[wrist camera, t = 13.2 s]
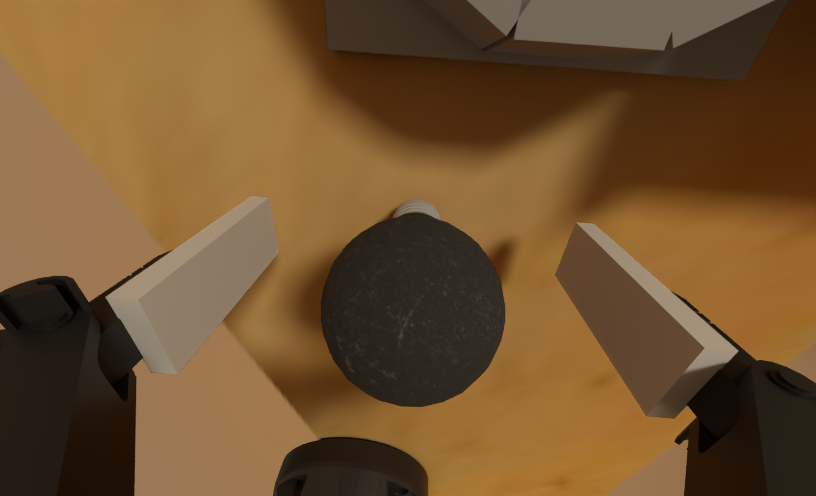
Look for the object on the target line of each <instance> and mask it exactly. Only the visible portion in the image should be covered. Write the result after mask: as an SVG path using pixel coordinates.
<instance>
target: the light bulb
mask: <svg viewBox="0 0 816 496" xmlns="http://www.w3.org/2000/svg"><path fill="white" fill-rule="evenodd" d="M321 322H322V328H323V334H324V337H325V340H326V342H327V345H328V348H329V351H330V353H331V355H332V357H333V360H334V361H335V363H336V364H337V365H338V367H339V368H340V369H341V371H342V372H343V373H344V375H345V376H346V377H347V379H348V380H349V381H350V382H352V383H353V384H354V385H356V386H357V387H358V388H360V389H361V390H362V391H364V392H365V393H367V394H368V395H370V396H372V397H374V398H376V399H378V400H380V401H383V402H387V403H391V404H395V405H398V406H409V407H423V406H428V405H432V404H436V403H441V402H444V401H446V400H448V399H450V398H452V397H454V396H456V395H459V394H461V393H463V392H464V391H465V390H466V389H467V388H468V387H469V386H470V385H471V384H472V383H473V382H475V381H476V380H477V379H478V378H479V377H480V376H481V375H482V374H483V373H484V372H485V370H486V369H487V368H488V367H489V365H490V363H491V361H492V359H493V357H494V355H495V353H496V351H497V349H498V347H499V344H500V342H501V339H502V335H503V330H504V324H505V303H504V297H503V291H502V286H501V280H500V278H499V276H498V274H497V272H496V270H495V267H494V266H493V264H492V262H491V260H490V259H489V258H488V256H487V255H486V253H485V252H484V251H483V250H482V248H481V247H480V246H479V244H478V243H477V242H476V241H474V240H473V239H472V238H471V237H470V236H468V235H467V234H466V233H464V232H463V231H461V230H459V229H458V228H456V227H454V226H453V225H451V224H449V223H447V222H444V221H442V220H441V217H440V215H439V213H438V212H437V210H436V208H435V207H434V206H433V205H432V204H430V203H429V202H426V201H424V200H416V199H413V200H409V201H406V202H404V203H403V204H401V205H400V206H399V207H398V208H397V210H396V212H395V213H394V215H393V217H392V218H390V219H387V220H385V221H382V222H379V223H377V224H375V225H374V226H372V227H370V228H368V229H366V230H365V231H363V232H361V233H360V234H359V235H358V236H357V237H355V238H354V239H352V241H351V242H350V243H349V244H347V245H346V247H345V248H344V249H343V251H342V252H341V253H340V255H339V256H338V257H337V259H336V260H335V261H334V263H333V265H332V268H331V270H330V273H329V275H328V277H327V280H326V283H325V285H324V289H323V294H322V300H321Z"/></svg>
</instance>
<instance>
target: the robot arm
mask: <svg viewBox="0 0 816 496" xmlns="http://www.w3.org/2000/svg"><path fill="white" fill-rule="evenodd" d="M278 253H279V248H278V243H277V238H276V232H275V227H274V222H273V216H272V211H271V206H270V200H269V197H256V196H251V197H249V198H248V199H246V200H245V201H243V202H242V203H241V204H239V205H238V206H236V207H235V208H233V209H232V210H230V211H229V212H228V213H226V214H225V215H223V216H222V217H220V218H219V219H217V220H216V221H215V222H213V223H212V224H210V225H209V226H207V227H206V228H204V229H203V230H202V231H200V232H199V233H197V234H196V235H194V236H193V237H191V238H190V239H189V240H187V241H186V242H184V243H183V244H181V245H180V246H178V247H177V248H176V249H173V250H171V251H169V252H166V253H164V254H162V255H159V256H157V257H156V258H154V259H153V260H151V261H150V262H148V263H147V264H145V265H144V266H143V268H139V269H138V270H136V271H135V272H133V273H132V275H131V276H127V277H126V278H125V279H123V280H122V281H120V282H118V283H117V284H116V285H114V286H113V287H111V288H110V289H108V290H107V291H105V292H104V293H102V294H101V295H99V296H98V297H96V298H95V299H93V300H92V301H90V302H88V301H87V299H86V297H85V296H84V294H83V293H82V291H81V290H80V288H79V287H78V285H77V284H76V282H75V281H74V279H72V278H70V277H67V276H51V277H44V278H38V279H35V280H31V281H27V282H24V283H21V284H18V285H16V286H13V287H11V288H8V289H6V290H4V291H2V292H1V293H0V323H1V324H2V325H3V326H4V328H5V329H3V330H0V496H134V482H135V479H134V478H135V427H136V426H135V425H136V421H135V420H136V376H135V373H134V371H133V370H132V368H133V367H134V366H135V365H136V364H137V363H138V362H139V361H140V360H141V359H143V360H144V362H145V363H146V365H147V367H148V368H149V370H150V372H151V373H164V374H175V375H178V374H179V373H180V371H181V370H182V369H183V368H184V366H185V365H186V364H187V363H188V362H189V361H190V359H191V358H192V357H193V356H194V355H195V353H196V352H197V351H198V350H199V348H200V347H201V346H202V345H203V344H204V342H205V341H206V340H207V339H208V337H209V336H210V335H211V334H212V333H213V332H214V330H215V329H216V328H217V327H218V326H219V324H220V323H221V322H222V321H223V320H224V318H225V317H226V316H227V315H228V313H229V312H230V311H231V310H232V309H233V307H234V306H235V305H236V304H237V303H238V301H239V300H240V299H241V298H242V297H243V295H244V294H245V293H246V292H247V291H248V289H249V288H250V287H251V286H252V284H253V283H254V282H255V281H256V280H257V278H258V277H259V276H260V275H261V274H262V272H263V271H264V270H265V269H266V268H267V266H268V265H269V264H270V263H271V262H272V260H273V259H274V258H275V257H276V256H277V254H278ZM555 276H556V277H557V279H558V280H559V282H560V283H561V285H562V287H563V288H564V290H565V291H566V293H567V294H568V296H569V297H570V299H571V300H572V302H573V304H574V305H575V307H576V308H577V310H578V311H579V313H580V314H581V316H582V317H583V319H584V320H585V322H586V324H587V325H588V327H589V328H590V330H591V331H592V333H593V334H594V336H595V337H596V339H597V341H598V342H599V344H600V345H601V347H602V348H603V350H604V351H605V353H606V354H607V356H608V358H609V359H610V361H611V362H612V364H613V365H614V367H615V368H616V370H617V371H618V373H619V374H620V376H621V378H622V379H623V381H624V382H625V384H626V385H627V387H628V388H629V390H630V391H631V393H632V395H633V396H634V398H635V399H636V401H637V402H638V404H639V405H640V407H641V408H642V410H643V411H644V413H645V415H646V416H651V417H662V418H673V419H675V417H676V416H677V415H678V414H679V413H680V412H681V411H682V410H683V409H684V408H685V407H686V406H687V405H688V406H689V408H690V409H691V410H692V412H693V413H694V414H695V415H696V418H695V419H694V420H693V421H692V422H691V423H690V424H689V425H688V426H687V427H686V428H685V429H684V430H683V431H682V432H681V433H680V434H679V435H678V436H677V438H676V439H675V441H674V442H675V443H677V444H679V445H680V444H681V443H682V442H683V441H684V440H688V448H687V450H688V452H687V465H686V478H685V490H684V496H816V383H814V382H813V381H811V380H810V379H808V378H807V377H805V376H803V375H802V374H800V373H798V372H796V371H794V370H792V369H790V368H788V367H785V366H782V365H779V364H777V363H774V362H769V361H763V360H759V361H756V360H755V359H754V358H753V357H752V356H750V355H749V354H748V353H747V352H746V351H745V350H743V349H742V348H741V347H740V346H739V345H738V344H736V343H735V342H734V341H733V340H732V339H731V338H730V337H728V336H727V335H726V334H725V333H724V332H723V331H721V330H720V329H719V328H718V327H717V326H716V325H714V324H711V323H710V322H711V321H710V320H709V319H707V318H706V317H705V316H704V315H703V314H700V313H699V311H698V310H697V309H696V308H695V307H694V306H692V305H691V304H690V303H689V302H688V301H687V300H685V299H684V298H682V297H680V296H679V295H677V294H675V293H674V292H672V291H670V290H669V289H668V288H667V287H665V286H664V285H663V284H662V283H661V282H660V281H659V280H657V279H656V278H655V277H654V276H653V275H652V274H651V273H649V272H648V271H647V270H646V269H645V268H644V267H643V266H642V265H640V264H639V263H638V262H637V261H636V260H635V259H634V258H632V257H631V256H630V255H629V254H628V253H627V252H626V251H624V250H623V249H622V248H621V247H620V246H619V245H618V244H617V243H615V242H614V241H613V240H612V239H611V238H610V237H609V236H607V235H606V234H605V233H604V232H603V231H602V230H601V229H599V228H598V227H597V226H596V225H595V224H591V223H578V222H576V223H575V226H574V228H573V231H572V233H571V236H570V239H569V241H568V244H567V246H566V249H565V251H564V254H563V256H562V259H561V261H560V264H559V266H558V269H557V271H556V274H555ZM273 496H428V476H427V473H426V471H425V470H424V468H423V467H422V466H421V465H420V464H419V463H418V462H417V461H416V460H415V459H413V458H412V457H410V456H409V455H407V454H405V453H404V452H401V451H399V450H397V449H395V448H392V447H389V446H386V445H383V444H379V443H375V442H371V441H365V440H358V439H324V440H318V441H313V442H310V443H306V444H303V445H301V446H299V447H297V448H295V449H293V450H292V451H291V452H289V453H288V454H287V456H286V457H285V459H284V461H283V464H282V466H281V469H280V472H279V475H278V477H277V480H276V483H275V487H274V494H273Z"/></svg>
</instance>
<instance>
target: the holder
mask: <svg viewBox="0 0 816 496" xmlns="http://www.w3.org/2000/svg"><path fill="white" fill-rule="evenodd" d="M788 1H789V0H325V14H326V30H327V46H328V50H332V51H340V52H354V53H367V54H380V55H394V56H407V57H420V58H434V59H447V60H460V61H474V62H487V63H500V64H514V65H527V66H540V67H554V68H567V69H580V70H594V71H607V72H620V73H634V74H647V75H660V76H674V77H687V78H700V79H714V80H745V78H746V76H747V74H748V72H749V71H750V69H751V67H752V65H753V63H754V62H755V60H756V58H757V56H758V55H759V53H760V51H761V49H762V47H763V46H764V44H765V42H766V40H767V38H768V37H769V35H770V33H771V31H772V30H773V28H774V26H775V24H776V22H777V21H778V19H779V17H780V15H781V13H782V12H783V10H784V8H785V6H786V5H787V3H788Z"/></svg>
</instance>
